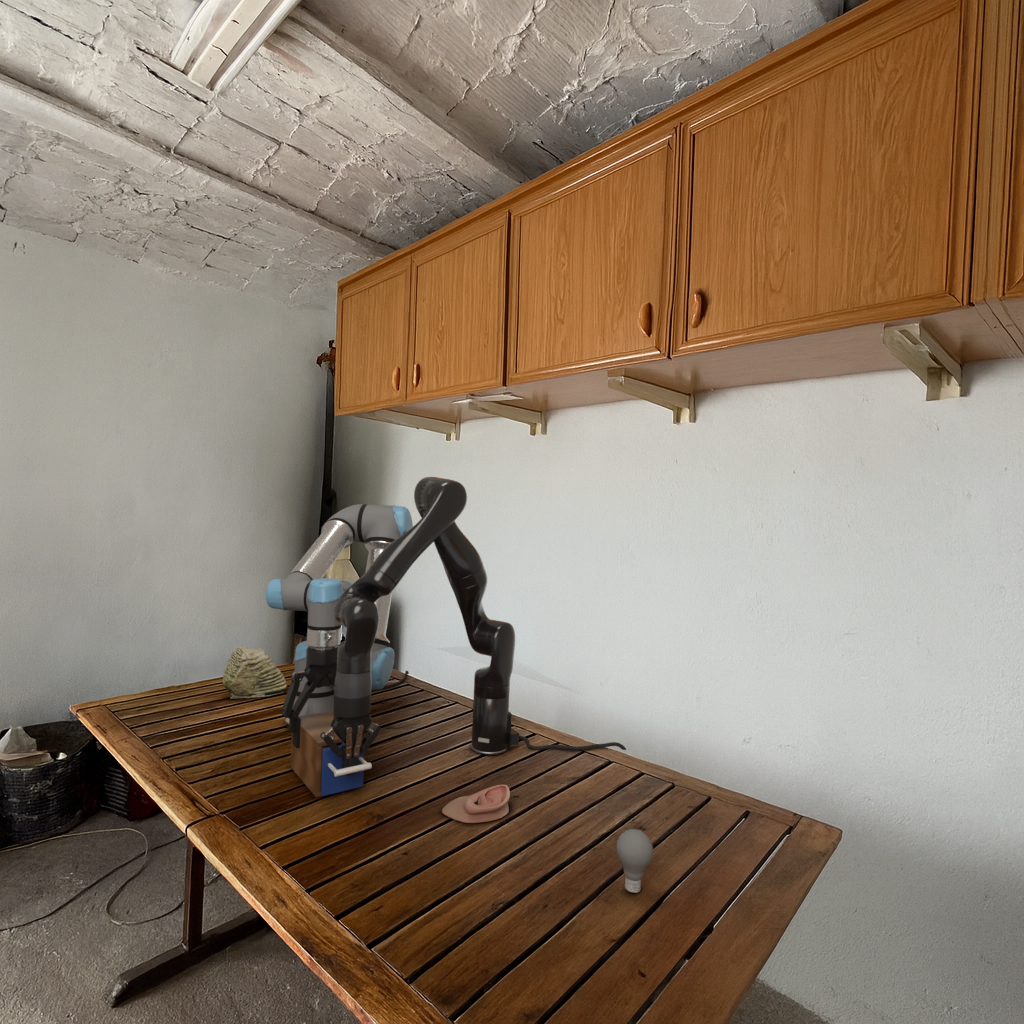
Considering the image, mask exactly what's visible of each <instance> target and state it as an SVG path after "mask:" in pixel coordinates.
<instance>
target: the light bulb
mask: <svg viewBox="0 0 1024 1024" xmlns="http://www.w3.org/2000/svg"><path fill="white" fill-rule="evenodd" d="M615 849H616V854H617V857H618V859H619V861H620V863H621V865H622V867H623V873H624V874H623V875H624V876H625V878H624V888H625V890H627V891H628V892H630V893H634V894H635V893H639V892H640V891H641V889H642V887H641V886H642V879H643V877H644V875H645V871H646V868H647V867H648V866H649V864H650V863H651V861H652V859H653V855H654V847H653V843H652V841H651V838H649V836H648V835H647V834H646V833H645V832H643V831H642V830H641V829H636V828H629V829H627V830H625V831H623V832H622V833H621V834H620V835H619V837H618V839H617V841H616V847H615Z"/></svg>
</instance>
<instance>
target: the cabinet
mask: <svg viewBox="0 0 1024 1024" xmlns="http://www.w3.org/2000/svg"><path fill="white" fill-rule="evenodd" d="M298 717H299V718H300V719H301V727H300V748H296V747H295V746H294V745H293V733H291V742H290V766H289V767H290V768H291V769H292V770H293V772H294V773H295V775H297V776H298V778H299V779H300V780H301V781H302V782H303V784H304V785H305V786H306V787H307V789H308V790H309V791H310V792H311V793H312V795H313V796H314V797H315V798H320V797H323V796H322V795H321V765H322V746H327V744H326V743H325V742H324V740H323V739H322V738H321V737H320V734H321V733H322V732H326V731H328V730H329V729H330V728H331V723H332V721H333V718H334V715H333V711H328V712H322V713H316V714H310V715H304V716H298ZM364 735H365V734H364ZM364 735H363V737H364ZM334 736H335V738H334V740H333V741H334V742H335V744H337V743H341V742H340V739H339V737H338V736H337V735H336V733H335V732H334ZM363 737H362V738H363Z"/></svg>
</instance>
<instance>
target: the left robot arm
mask: <svg viewBox="0 0 1024 1024" xmlns="http://www.w3.org/2000/svg"><path fill="white" fill-rule="evenodd" d="M413 526H414V524H413V518H412V514H411V512H410V510H409V508H407V507H406V506H402V505H395V504H392V505H389V504H388V505H387V504H366V503H357V504H353V505H350V506H347V507H345V508H343V509H341V510H339V511H338V512H336V513H334V514H332V516H330V517H329V518H328V519H327V520H326V522H324V524H323V525H322V526H321V531H320V535H319V536H318V537H317V538H316V540H315V541H314V542H313V544H312V545H311V546H310V547H309V548H308V549H307V551H306V553H305V554H304V555H302V557H301V559H300V560H299V561H298V563H297V564H296V565H295V566H294V568H293V569H292V570H291V572H289V574H288V575H287V576H286V577H285V578H282V577H280V578H274V579H272V580H270V581H269V582H268V584H267V586H266V590H265V601H266V604H267V606H268V607H269V608H271V609H275V610H283V611H297V612H307V630H306V631H307V632H306V640H304V641H302V642H299V643H298V644H297V645H296V647H295V654H294V659H293V661H294V670H293V671H291V674H290V675H291V676H290V678H291V679H290V680H291V681H290V684H289V687H288V690H287V693H286V696H285V699H284V702H283V705H282V708H281V711H280V715H282V716H283V717H284V718H285V726H286V728H287V729H288V731H289V732H290V733H291V734H292V733H293V745H294V746H295V747H296V748H300V727H301V719H300V718H299V717H298V716H304V715H310V714H316V713H322V712H328V711H334V686H335V677H336V668H337V651H338V646H339V645H340V643H342V641H341V640H342V625H340V624H339V623H338V622H337V621H336V619H335V617H334V608H335V605H336V603H337V601H338V599H339V598H340V596H341V595H342V594H343V593H344V592H345V591H346V590H347V589H348V588H349V587H350V586H351V585H352V584H353V583H355V581H351V580H341V579H339V578H334V577H333V578H332V577H325V575H326V574H327V573H328V571H329V570H330V569H331V568H332V566H333V565H334V563H335V562H336V560H337V559H338V557H339V556H340V555H341V553H342V552H343V550H344V549H348V548H349V547H350V546H351V545H352V544H354V543H364V547H365V549H366V550H367V551H368V555H367V561H366V567H365V572H364V574H365V573H366V572H367V570H368V569H369V567H370V566H371V565H372V563H373V562H374V561H375V559H376V558H377V557H378V556H379V554H380V553H381V552H382V551H383V550H384V549H385V548H386V547H387V546H388V545H389V544H390V543H392V542H393V541H394V540H396V539H397V538H398V537H400V536H401V535H403V534H404V533H406V532H407V531H408V530H410V529H411V528H412V527H413ZM393 591H394V590H393ZM393 591H392V592H391V593H390V594H389V595H387V596H382V597H380V598H378V599H377V600H376V601H375V604H376V606H377V608H378V612H379V624H378V629H377V633H376V637H375V641H374V644H373V647H372V659H371V677H372V687H371V692H373V691H380V690H383V689H388V688H389V689H390V688H392V687H395V686H398V685H400V684H402V683H403V682H404V681H406V679H407V677H408V675H409V674H410V672H409V670H405V671H404V676H403V677H402V678H401V679H400V680H399V681H397V682H394V683H391V684H388V683H389V681H390V678H391V677H392V676H391V675H392V673H393V671H394V666H395V657H396V655H395V650H394V648H392V647H390V645H391V641H390V640H389V639H388V638H387V629H388V624H389V616H390V611H391V603H392V597H393Z"/></svg>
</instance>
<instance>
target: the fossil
mask: <svg viewBox="0 0 1024 1024" xmlns="http://www.w3.org/2000/svg"><path fill="white" fill-rule="evenodd" d="M222 676H223V677H222V685H223V687H224V688H225V690H226V691H228V693H229V698H230V699H250V698H264V697H271V696H275V695H281V694H284V693H285V691H286V689H287V687H288V686H287V680H286V678H285V676H284V674H283V673H282V672H281V669H279V668H278V667H277V665H276V663H275V662H274V660H273V659H272V658H271V657H270V656H269V655H268V654H267V653H266V652H265V650H264V649H263V648H260V647H258V648H251V647H247V646H246V647H245V646H238V647H237V648H236V649H235V650H233V651H232V653H231V656H230V657H229V659H228V660H227V663H226V666H225V668H224V671H223V675H222Z"/></svg>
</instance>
